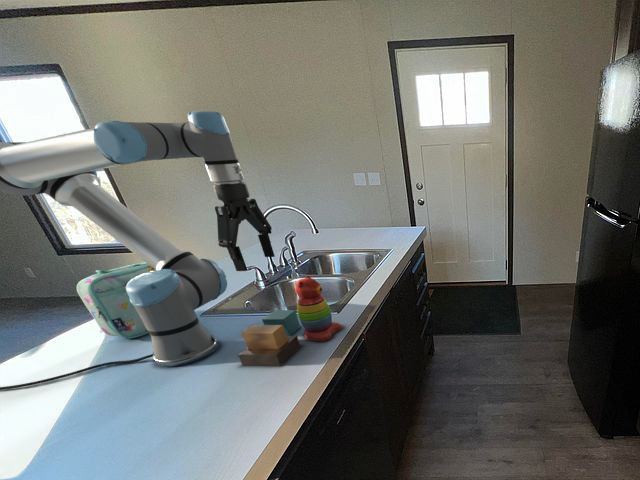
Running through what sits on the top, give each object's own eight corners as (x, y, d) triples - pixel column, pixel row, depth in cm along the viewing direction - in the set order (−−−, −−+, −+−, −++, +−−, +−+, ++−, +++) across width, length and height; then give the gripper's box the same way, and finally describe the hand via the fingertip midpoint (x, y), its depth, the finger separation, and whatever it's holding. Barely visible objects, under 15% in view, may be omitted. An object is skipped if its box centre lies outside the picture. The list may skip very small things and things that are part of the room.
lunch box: (120, 346, 117) (79, 280, 106) (101, 342, 120) (59, 277, 109) (202, 312, 138) (175, 254, 127) (184, 309, 141) (156, 252, 130)
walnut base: (242, 365, 103) (237, 354, 101) (265, 346, 112) (261, 335, 111) (280, 366, 102) (276, 354, 100) (300, 346, 111) (297, 335, 109)
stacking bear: (326, 342, 113) (310, 285, 104) (296, 340, 115) (278, 284, 106) (344, 326, 122) (331, 272, 113) (316, 325, 124) (301, 272, 115)
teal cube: (268, 336, 118) (261, 319, 115) (280, 327, 124) (274, 310, 121) (289, 336, 117) (283, 319, 114) (300, 326, 123) (295, 309, 120)
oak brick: (248, 349, 104) (241, 333, 101) (258, 340, 108) (252, 324, 105) (278, 349, 103) (272, 333, 100) (288, 340, 107) (282, 324, 104)
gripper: (208, 188, 87) (242, 277, 98) (269, 177, 108) (291, 251, 119) (178, 189, 87) (215, 277, 98) (245, 177, 109) (268, 251, 120)
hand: (256, 263), depth 109 cm, fingers open, 13 cm apart
